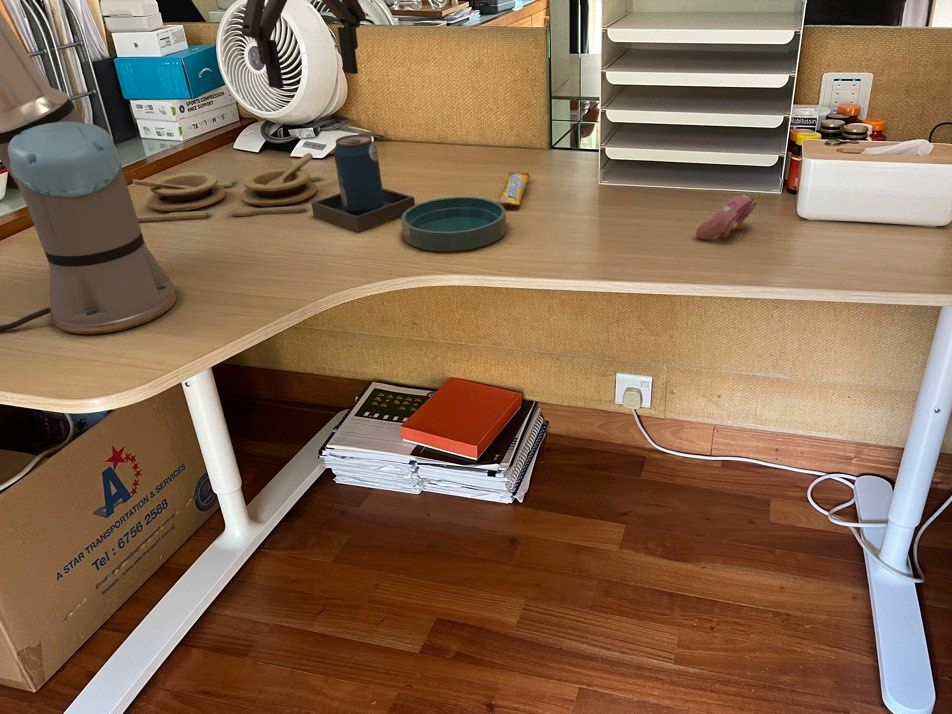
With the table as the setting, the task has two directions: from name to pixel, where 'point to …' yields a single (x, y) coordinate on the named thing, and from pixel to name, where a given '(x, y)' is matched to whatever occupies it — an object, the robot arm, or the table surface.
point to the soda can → (358, 174)
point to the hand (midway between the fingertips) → (315, 80)
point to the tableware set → (208, 189)
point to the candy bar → (514, 189)
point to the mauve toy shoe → (727, 218)
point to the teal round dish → (454, 223)
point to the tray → (391, 210)
